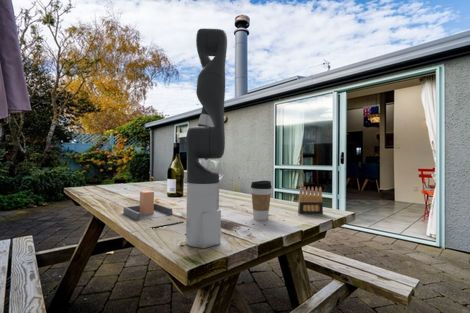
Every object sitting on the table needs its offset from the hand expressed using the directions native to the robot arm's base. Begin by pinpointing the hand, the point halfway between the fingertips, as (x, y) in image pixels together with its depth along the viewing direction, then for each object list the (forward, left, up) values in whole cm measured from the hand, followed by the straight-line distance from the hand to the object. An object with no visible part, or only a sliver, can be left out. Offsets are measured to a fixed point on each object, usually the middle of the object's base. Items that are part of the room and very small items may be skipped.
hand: (198, 157), depth 121 cm
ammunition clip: (-42, -31, -24) cm, 58 cm away
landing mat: (-16, +26, -24) cm, 39 cm away
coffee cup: (-34, -7, -24) cm, 43 cm away
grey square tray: (-3, +26, -24) cm, 36 cm away
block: (-2, +26, -23) cm, 35 cm away
